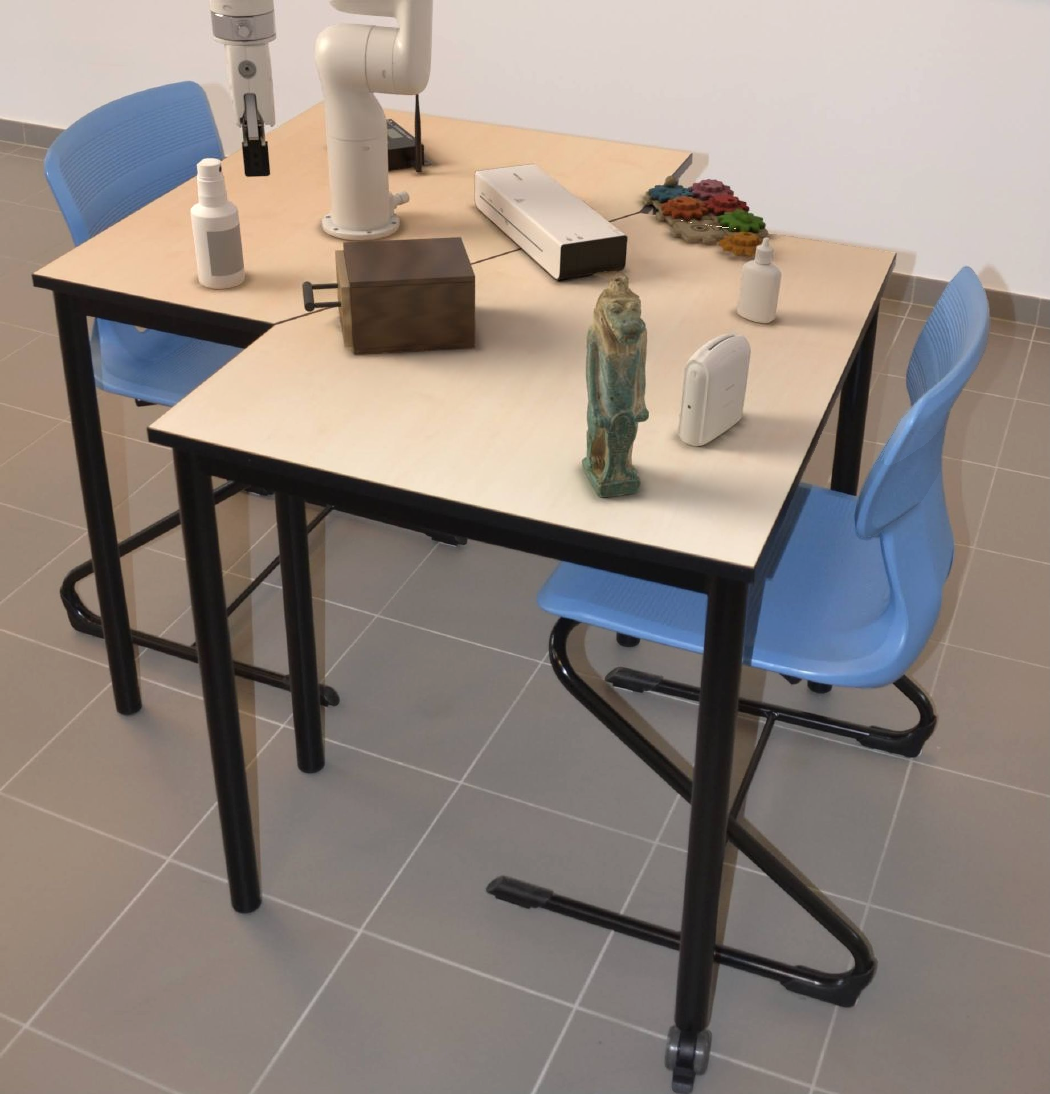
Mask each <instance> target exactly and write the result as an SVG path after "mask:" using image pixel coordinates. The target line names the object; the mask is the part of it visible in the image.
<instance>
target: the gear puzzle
mask: <svg viewBox="0 0 1050 1094" xmlns="http://www.w3.org/2000/svg"><path fill="white" fill-rule="evenodd" d="M734 195H735V191H734V190H732V189H731V185H726V184H724V182H723V181H721V180H718V179H711V178H707V179H701V180H700V181H698V182H693V183H692V185H691V186H689V187H684V186H683V185H682V184H677V178H676V177H675V175H668V176H666V177H665V179H664V184H655V185H654V187H652V188H649V189H648V190H647V191H646V192H645V196H643V197H642V202H643V204H644V205H645V206H653V207H655V209H656V210H658V211H657V212H655V218H656V219H657V220H658V221H659V222H663V221H666V222H667V223H668V224H669V225H670V226H672V227H673V228H671V229H670V234H671V235H672V236H673V237H674V238H679V237H680V238H682V239H683V241H685V242H686V243H703V245H714V244H717V242H718V246H719V247H721V248H722V251H723V252H732V254H733V255H734V256H738V255H745V256H748V257H753V256H755V254H756V247H757V246H758V245H761V244H762V242H763V239H764V238H767V237H768V235H769V231H768V230H767V228H766V227H767V223H766V222H765V221H764V217H762V216H759V215H755V214H754V213H753V212H750V206H748V204H747V201H744V200H740V199H739V196H734ZM681 220H683V221H681ZM690 222H692V223H690ZM705 224H707V225H705ZM708 225H709V226H708ZM710 225H712V226H710ZM716 226H722V227H729V228H722V227H716ZM734 228H736V229H734Z"/></svg>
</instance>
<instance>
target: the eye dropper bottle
mask: <svg viewBox="0 0 1050 1094" xmlns="http://www.w3.org/2000/svg"><path fill="white" fill-rule="evenodd" d="M762 239H763V242H762V244H761V245H758V246H757V247H756V254H754V259H751V260H748V261H747V262H745V263H744V264H743V266H742V269H741V274H740V275H741V276H740V283H739V288H738V290H739V291H738V297H737V298H738V299H737V306H736V313H737V315H739V316H740V317H742V318H743V319H745V320H748V321H750V322H754V323H758V324H769V323H771V322H773V321H775V319H776V316H777V310H778V309H777V308H778V303H779V297H780V296H779V295H780V290H781V289H780V288H781V281H782V271H781V270H780V268H779V267H778V266H777V265H775V264H774V263H773V257H774V249H775V248H774V247H773V246H772V245H770V238H769V237H763V238H762Z"/></svg>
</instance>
